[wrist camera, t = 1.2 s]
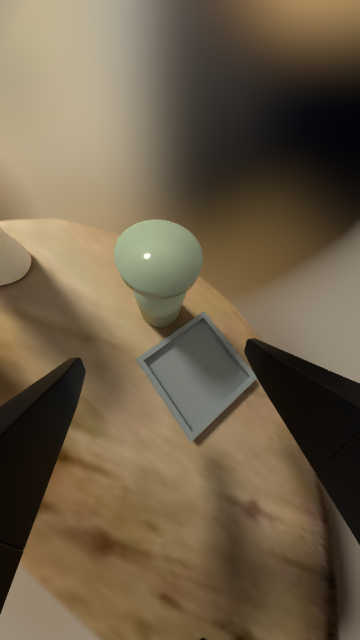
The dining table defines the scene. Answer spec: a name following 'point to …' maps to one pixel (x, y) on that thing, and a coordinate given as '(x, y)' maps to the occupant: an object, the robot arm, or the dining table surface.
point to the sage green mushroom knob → (158, 267)
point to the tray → (196, 373)
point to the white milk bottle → (12, 259)
